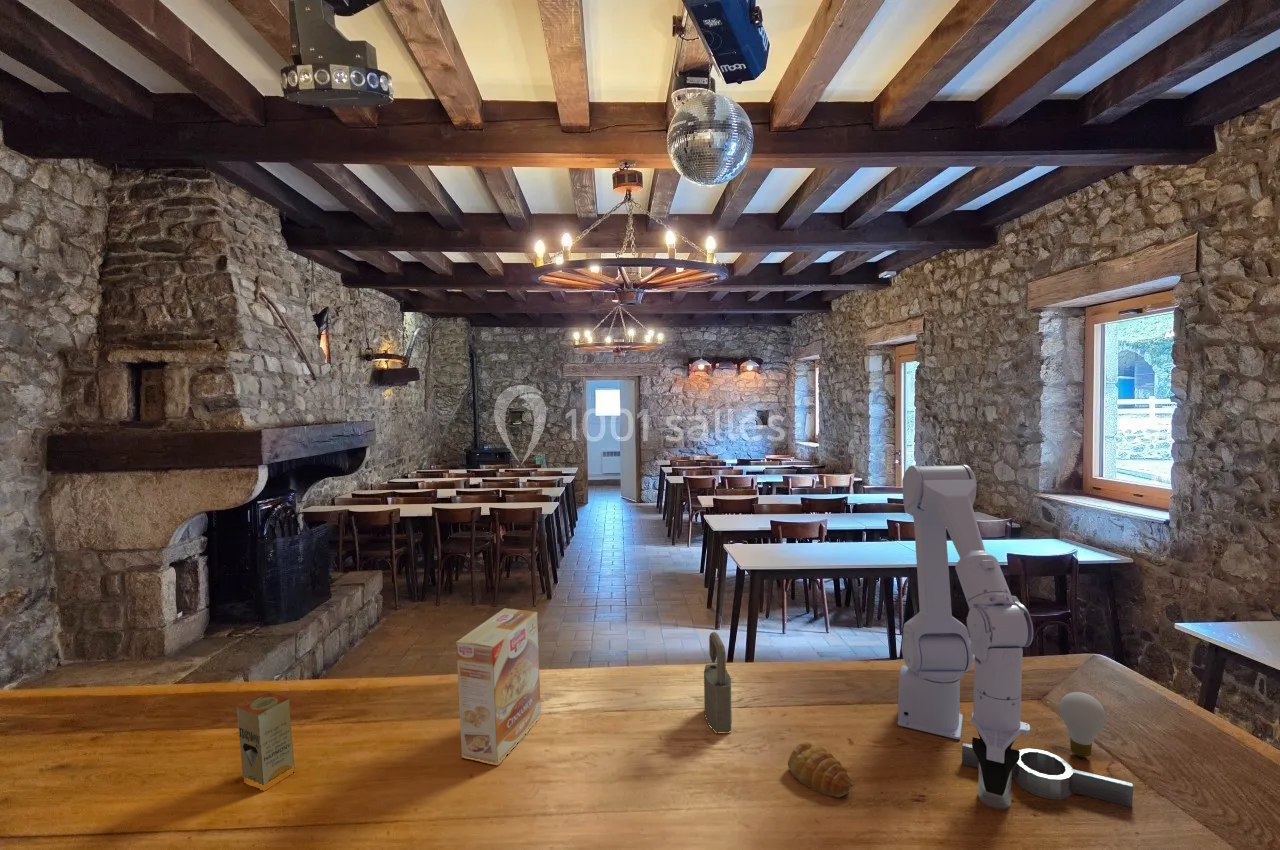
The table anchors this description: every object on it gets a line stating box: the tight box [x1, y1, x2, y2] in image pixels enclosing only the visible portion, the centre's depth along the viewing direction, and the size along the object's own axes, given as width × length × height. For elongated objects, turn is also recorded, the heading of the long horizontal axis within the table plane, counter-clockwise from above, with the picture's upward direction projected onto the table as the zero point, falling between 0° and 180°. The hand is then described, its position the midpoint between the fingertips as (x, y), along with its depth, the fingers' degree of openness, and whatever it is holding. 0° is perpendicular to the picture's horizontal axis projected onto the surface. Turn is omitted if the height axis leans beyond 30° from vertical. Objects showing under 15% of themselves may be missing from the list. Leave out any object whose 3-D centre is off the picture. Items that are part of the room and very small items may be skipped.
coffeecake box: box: [455, 607, 542, 763], centre depth 107 cm, size 15×7×20 cm, turn 161°
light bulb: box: [1058, 691, 1107, 759], centre depth 99 cm, size 6×6×10 cm
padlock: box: [703, 631, 733, 733], centre depth 111 cm, size 4×8×15 cm, turn 6°
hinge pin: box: [977, 763, 1013, 810], centre depth 90 cm, size 4×4×7 cm
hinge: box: [961, 742, 1134, 808], centre depth 93 cm, size 21×7×3 cm, turn 60°
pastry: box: [787, 741, 853, 798], centre depth 95 cm, size 9×7×4 cm
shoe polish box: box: [236, 692, 295, 785], centre depth 98 cm, size 5×5×12 cm
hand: (994, 782), depth 90 cm, fingers closed on hinge pin, 4 cm apart
